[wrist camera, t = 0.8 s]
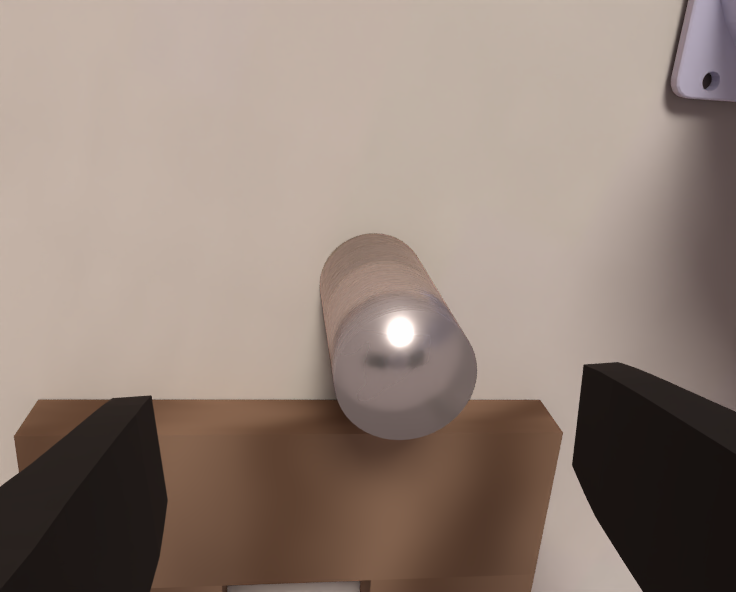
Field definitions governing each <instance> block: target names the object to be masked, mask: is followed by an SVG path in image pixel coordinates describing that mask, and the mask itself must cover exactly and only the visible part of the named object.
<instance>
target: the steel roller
mask: <svg viewBox="0 0 736 592" xmlns="http://www.w3.org/2000/svg"><path fill="white" fill-rule="evenodd" d="M320 293H321V300H322V307H323V314H324V320H325V327H326V334H327V341H328V347H329V354H330V361H331V368H332V374H333V381H334V388H335V394H336V397H337V400H338V403H339V405H340V407H341V409H342V411H343V412H344V414H345V415H346V416H347V417H348V419H349V420H350V421H351V422H352V423H353V424H355V425H356V426H357V427H358V428H360V429H362V430H363V431H365V432H367V433H369V434H371V435H374V436H377V437H380V438H384V439H390V440H409V439H415V438H419V437H423V436H426V435H429V434H431V433H433V432H436V431H437V430H439V429H441V428H443V427H444V426H446V425H447V424H449V423H450V422H451V421H452V420H453V419H455V418H456V417H457V416H458V415H459V413H460V412H461V411H462V410H463V409H464V407H465V406H466V404H467V403H468V401H469V399H470V397H471V395H472V393H473V390H474V387H475V383H476V377H477V363H476V358H475V354H474V351H473V348H472V346H471V344H470V342H469V341H468V339H467V337H466V336H465V334H464V332H463V331H462V329H461V327H460V326H459V324H458V323H457V321H456V319H455V318H454V316H453V314H452V313H451V311H450V309H449V308H448V306H447V304H446V303H445V301H444V300H443V298H442V296H441V295H440V293H439V291H438V290H437V288H436V286H435V285H434V283H433V281H432V280H431V278H430V277H429V275H428V273H427V272H426V270H425V268H424V267H423V265H422V263H421V262H420V260H419V258H418V257H417V255H416V254H415V253H414V251H413V250H412V249H411V248H410V247H409V246H408V245H407V244H405V243H404V242H403V241H401V240H399V239H397V238H395V237H392V236H389V235H385V234H377V233H374V234H364V235H360V236H356V237H354V238H351V239H349V240H347V241H346V242H344V243H342V244H341V245H340V246H338V247H337V248H336V249H335V250H334V251H333V252H332V253H331V255H330V256H329V257H328V259H327V261H326V262H325V264H324V267H323V269H322V273H321V277H320Z"/></svg>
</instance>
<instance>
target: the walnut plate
mask: <svg viewBox="0 0 736 592" xmlns="http://www.w3.org/2000/svg"><path fill="white" fill-rule="evenodd" d="M108 401H109V400H38V401H37V403H36V404H35V406H34V407H33V409H32V410H31V412H30V413H29V415H28V416H27V418H26V419H25V421H24V422H23V424H22V425H21V427H20V428H19V430H18V431H17V432H16V434H15V435H14V440H15V447H16V454H17V461H18V468H19V472H21V471H22V470H23V469H25V468H26V467H27V466H29V465H30V464H31V463H33V462H34V461H35V460H36V459H37V458H39V457H40V456H41V455H42V454H44V453H45V452H46V451H47V450H49V449H50V448H51V447H52V446H53V445H55V444H56V443H57V442H58V441H60V440H61V439H62V438H63V437H65V436H66V435H67V434H68V433H69V432H71V431H72V430H73V429H74V428H75V427H77V426H78V425H79V424H80V423H81V422H83V421H84V420H85V419H86V418H87V417H89V416H90V415H91V414H92V413H94V412H95V411H96V410H97V409H99V408H100V407H101V406H102V405H104V404H105V403H106V402H108ZM152 402H153V408H154V415H155V421H156V428H157V434H158V440H159V447H160V453H161V460H162V466H163V472H164V479H165V485H166V492H167V498H168V503H167V511H166V518H165V525H164V532H163V539H162V545H161V551H160V557H159V561H158V565H157V569H156V572H155V576H154V579H153V583H152V586H151V590H150V592H227V585H254V584H281V583H309V582H336V581H361V582H360V592H531V588H532V583H533V579H534V574H535V569H536V564H537V559H538V554H539V549H540V544H541V539H542V534H543V529H544V524H545V519H546V514H547V509H548V505H549V500H550V495H551V490H552V485H553V480H554V475H555V470H556V465H557V460H558V455H559V450H560V445H561V440H562V435H563V432H562V431H561V429H560V428H559V426H558V425H557V424H556V422H555V421H554V419H553V418H552V416H551V415H550V414H549V412H548V411H547V409H546V408H545V406H544V405H543V404H542V402H541V401H540V400H469V401H468V403H467V404H466V406H465V407H464V409H463V410H462V411H461V412H460V413H459V415H458V416H457V417H456V418H455V419H453V420H452V421H451V422H450V423H449V424H447V425H446V426H444V427H443V428H441V429H439V430H437V431H436V432H433V433H431V434H429V435H426V436H423V437H419V438H415V439H409V440H390V439H384V438H380V437H377V436H374V435H371V434H369V433H367V432H365V431H363V430H362V429H360V428H358V427H357V426H356V425H355V424H353V423H352V422H351V421H350V420H349V419H348V417H347V416H346V415H345V414H344V412H343V411H342V409H341V407H340V405H339V403H338V400H152Z"/></svg>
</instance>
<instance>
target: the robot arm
mask: <svg viewBox="0 0 736 592" xmlns="http://www.w3.org/2000/svg"><path fill="white" fill-rule="evenodd" d="M709 72H710V74H711V76H712V81H711V83H710V85H709V87H707V88H706V89H704V88H703V86H702V80H703V78H704V76H705V75H706V74H707V73H709ZM671 87H672V90H673V92H674V93H675V94H676V95H677V96H679V97H683V98H688V99H702V100H717V101H732V102H736V0H688V4H687V9H686V13H685V18H684V22H683V27H682V32H681V36H680V41H679V45H678V50H677V54H676V59H675V63H674V68H673V72H672V77H671ZM572 466H573V468H574V471H575V473H576V475H577V478H578V480H579V482H580V485H581V487H582V489H583V492H584V494H585V496H586V498H587V500H588V502H589V504H590V506H591V509H592V511H593V513H594V515H595V517H596V518H597V520H598V522H599V523H600V525H601V527H602V528H603V530H604V531H605V533H606V535H607V536H608V538H609V539H610V541H611V542H612V544H613V546H614V547H615V549H616V550H617V552H618V554H619V555H620V557H621V558H622V560H623V561H624V563H625V565H626V566H627V568H628V569H629V571H630V572H631V574H632V575H633V577H634V579H635V580H636V582H637V583H638V585H639V586H640V588H641V589H642V591H643V592H736V412H735V411H733V410H730V409H728V408H726V407H723V406H721V405H719V404H717V403H714V402H712V401H710V400H708V399H706V398H703V397H701V396H699V395H697V394H694V393H692V392H690V391H688V390H685V389H683V388H681V387H679V386H677V385H674V384H672V383H670V382H668V381H665V380H663V379H661V378H659V377H656V376H654V375H651V374H649V373H647V372H644V371H642V370H639V369H637V368H634V367H631V366H629V365H625V364H622V363H619V362H615V363H601V364H587V365H584V367H583V375H582V384H581V393H580V402H579V410H578V419H577V428H576V436H575V445H574V454H573V462H572ZM167 503H168V498H167V492H166V485H165V479H164V472H163V466H162V460H161V453H160V447H159V440H158V434H157V428H156V421H155V415H154V408H153V402H152V396H138V397H124V398H112V399H111V400H109V401H108V402H106V403H105V404H104V405H102V406H101V407H100V408H99V409H97V410H96V411H95V412H94V413H92V414H91V415H90V416H89V417H87V418H86V419H85V420H84V421H83V422H81V423H80V424H79V425H78V426H77V427H75V428H74V429H73V430H72V431H71V432H69V433H68V434H67V435H66V436H65V437H63V438H62V439H61V440H60V441H58V442H57V443H56V444H55V445H53V446H52V447H51V448H50V449H49V450H47V451H46V452H45V453H44V454H42V455H41V456H40V457H39V458H37V459H36V460H35V461H34V462H33V463H31V464H30V465H29V466H27V467H26V468H25V469H23V470H22V471H21V472H19V473H18V474H17V475H15V476H14V477H13V478H11V479H10V480H9V481H7V482H6V483H5V484H3V485H2V486H1V487H0V592H150V590H151V586H152V583H153V579H154V576H155V572H156V569H157V565H158V561H159V557H160V551H161V545H162V539H163V532H164V525H165V518H166V511H167Z"/></svg>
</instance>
